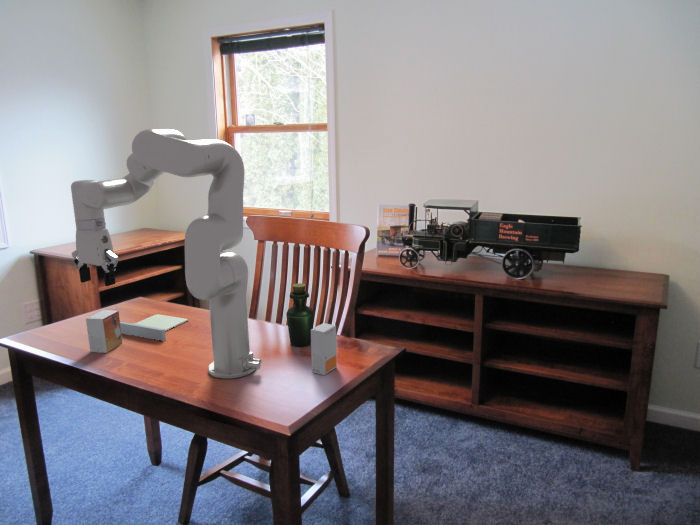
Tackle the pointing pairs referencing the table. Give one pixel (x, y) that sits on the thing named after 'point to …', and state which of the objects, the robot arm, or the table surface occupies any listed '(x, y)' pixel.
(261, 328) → the table surface
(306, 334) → the potion bottle
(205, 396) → the table surface
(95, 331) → the small box
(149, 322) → the mat
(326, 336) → the skincare box
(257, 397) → the table surface
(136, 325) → the low wall
